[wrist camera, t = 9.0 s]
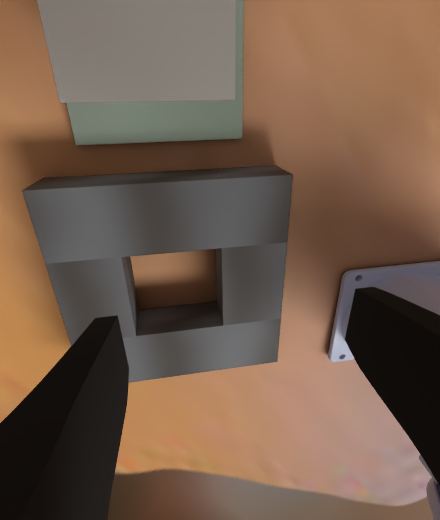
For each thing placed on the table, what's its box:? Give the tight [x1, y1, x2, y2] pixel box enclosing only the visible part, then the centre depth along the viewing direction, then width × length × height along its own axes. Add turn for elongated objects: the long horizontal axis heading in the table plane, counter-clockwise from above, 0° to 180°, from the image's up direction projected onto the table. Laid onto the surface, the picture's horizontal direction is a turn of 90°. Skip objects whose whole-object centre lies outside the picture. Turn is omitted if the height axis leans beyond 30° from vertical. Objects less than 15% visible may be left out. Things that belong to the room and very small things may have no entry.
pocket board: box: [22, 166, 293, 383], centre depth 18 cm, size 12×12×2 cm
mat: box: [66, 0, 244, 145], centre depth 13 cm, size 8×8×1 cm
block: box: [37, 0, 236, 103], centre depth 10 cm, size 4×4×8 cm
